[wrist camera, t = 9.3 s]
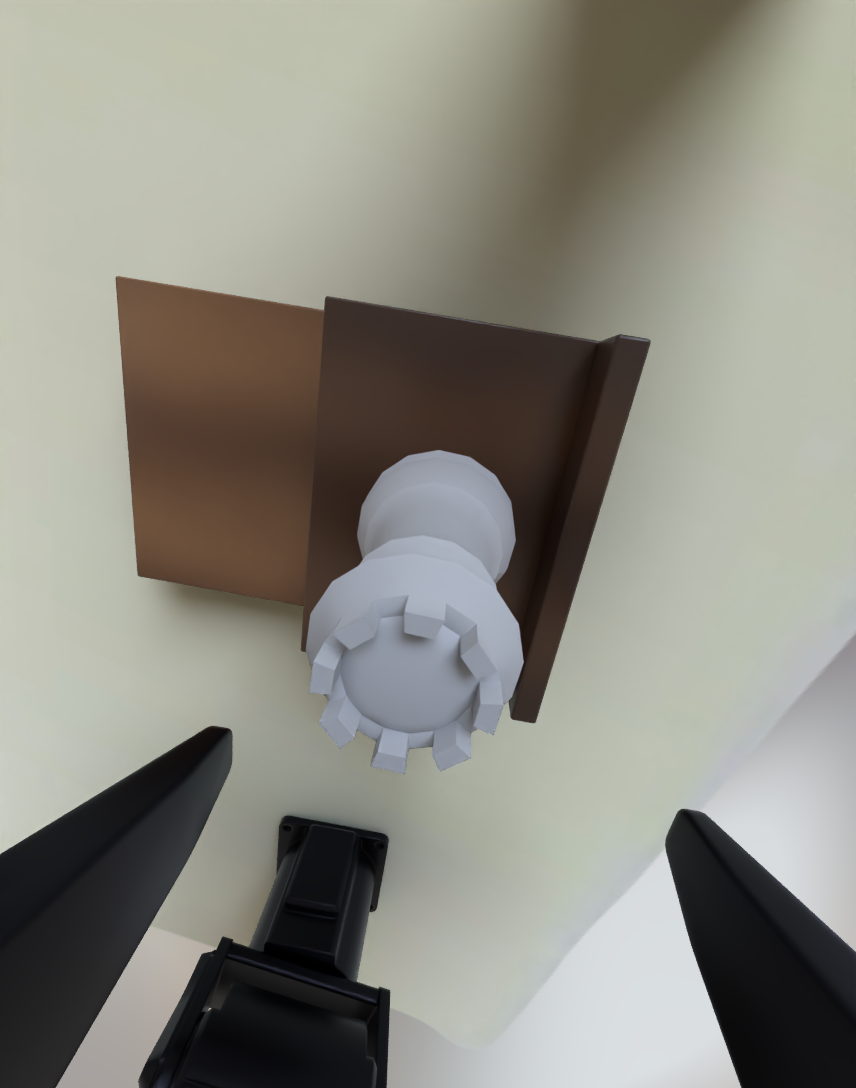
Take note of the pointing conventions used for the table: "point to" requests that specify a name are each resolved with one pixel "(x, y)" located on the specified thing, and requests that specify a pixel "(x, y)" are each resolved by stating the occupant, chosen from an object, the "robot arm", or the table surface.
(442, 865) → the table surface
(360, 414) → the brown wooden stepped block
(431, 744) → the rook chess piece
